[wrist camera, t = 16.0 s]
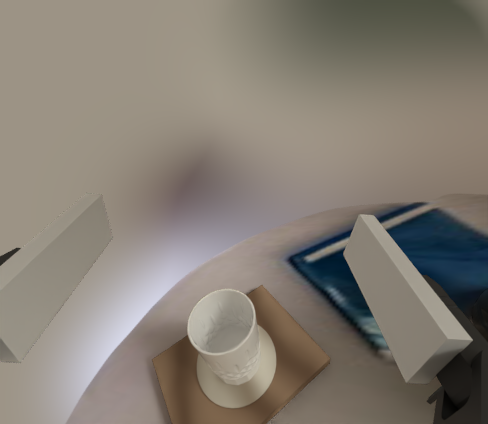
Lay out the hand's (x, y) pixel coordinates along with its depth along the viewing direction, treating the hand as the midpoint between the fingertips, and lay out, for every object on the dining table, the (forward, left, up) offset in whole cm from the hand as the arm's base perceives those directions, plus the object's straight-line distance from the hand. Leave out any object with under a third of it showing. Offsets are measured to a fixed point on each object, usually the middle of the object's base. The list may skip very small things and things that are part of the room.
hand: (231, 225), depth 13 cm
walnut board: (+1, -7, -29) cm, 30 cm away
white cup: (+1, -7, -27) cm, 28 cm away
